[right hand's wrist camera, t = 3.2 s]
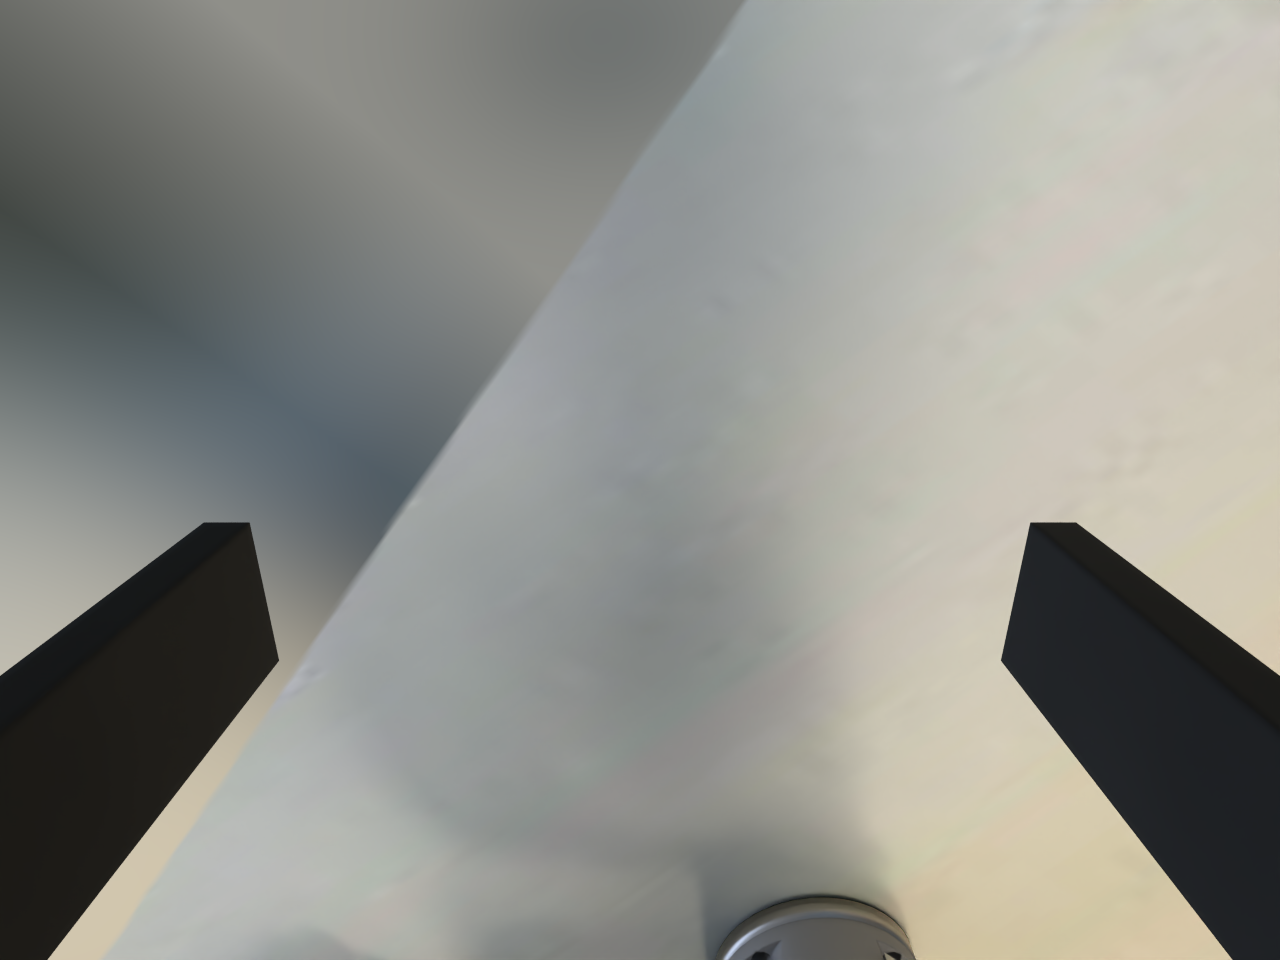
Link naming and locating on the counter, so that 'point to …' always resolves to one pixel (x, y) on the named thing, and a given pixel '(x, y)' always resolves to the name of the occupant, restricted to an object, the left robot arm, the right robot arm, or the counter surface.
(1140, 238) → the counter surface
